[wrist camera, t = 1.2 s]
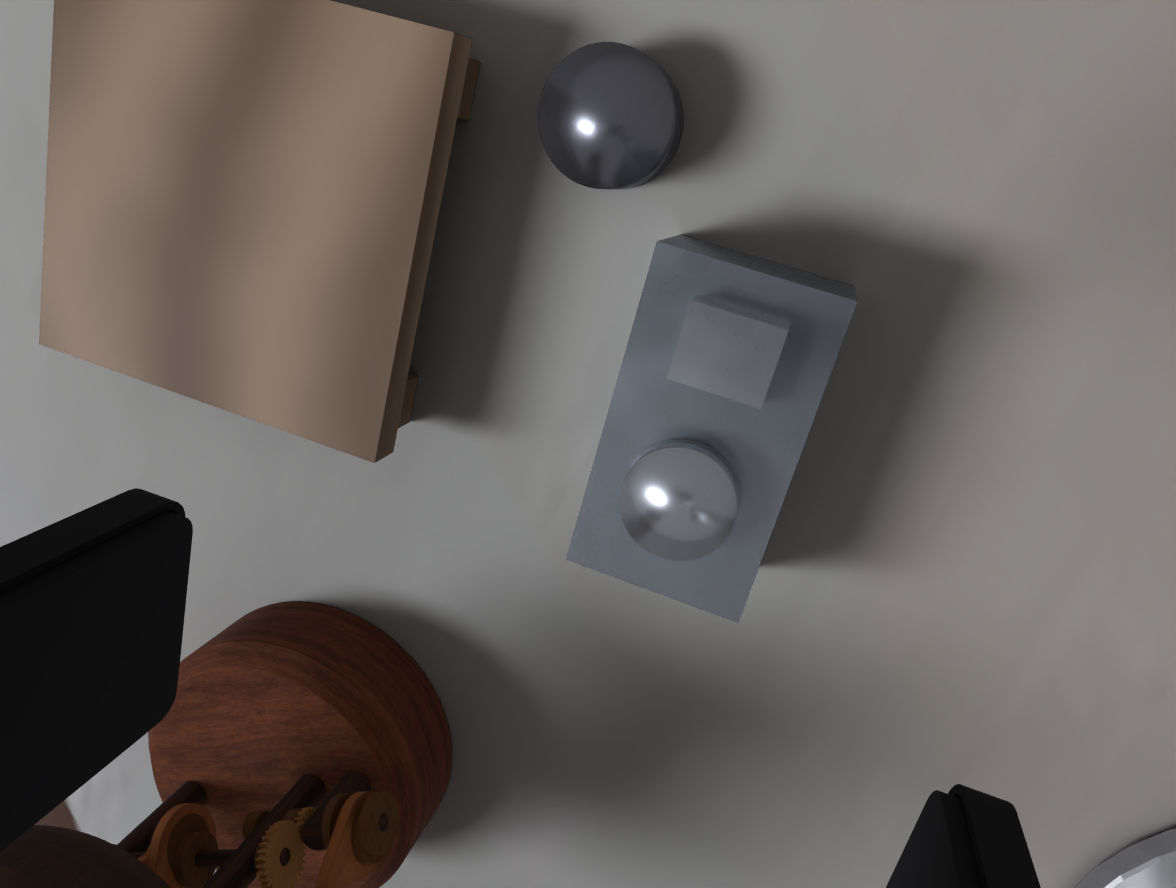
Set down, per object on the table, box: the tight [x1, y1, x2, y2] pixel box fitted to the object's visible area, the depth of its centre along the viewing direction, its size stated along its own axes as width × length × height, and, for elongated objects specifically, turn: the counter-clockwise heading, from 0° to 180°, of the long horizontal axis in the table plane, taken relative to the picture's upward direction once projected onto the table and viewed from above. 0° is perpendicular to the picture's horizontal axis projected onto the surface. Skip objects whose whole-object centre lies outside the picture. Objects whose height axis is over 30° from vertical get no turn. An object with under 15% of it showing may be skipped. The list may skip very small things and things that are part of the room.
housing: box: [566, 235, 858, 623], centre depth 24 cm, size 5×9×5 cm, turn 165°
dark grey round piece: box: [538, 42, 684, 189], centre depth 24 cm, size 4×4×2 cm
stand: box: [39, 0, 480, 463], centre depth 26 cm, size 12×12×3 cm
